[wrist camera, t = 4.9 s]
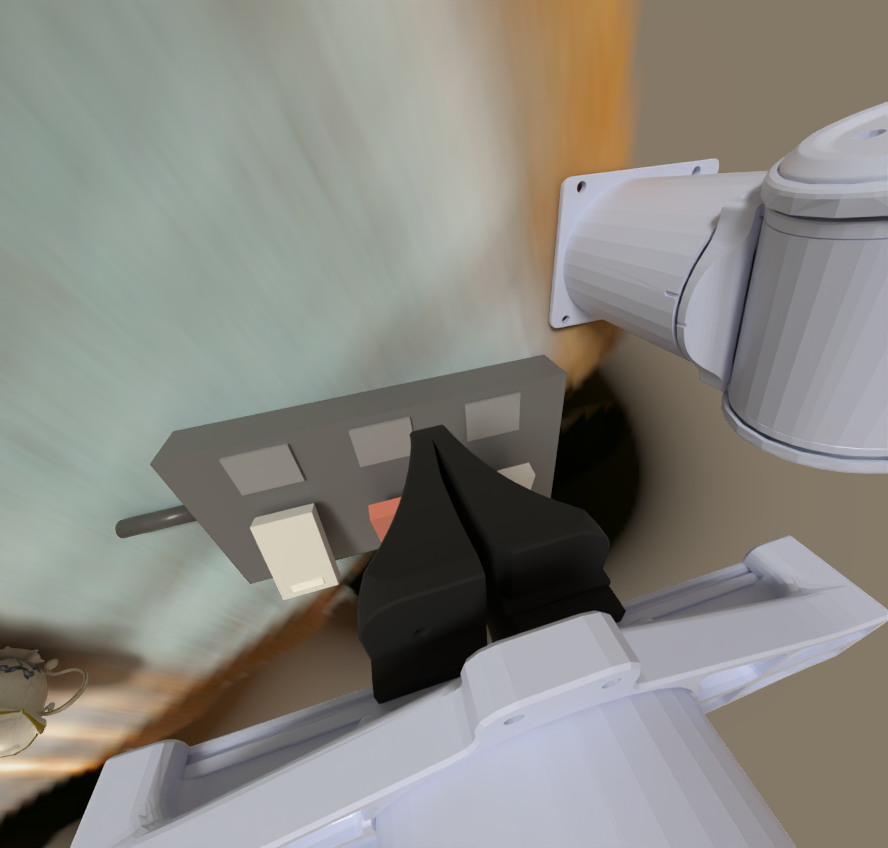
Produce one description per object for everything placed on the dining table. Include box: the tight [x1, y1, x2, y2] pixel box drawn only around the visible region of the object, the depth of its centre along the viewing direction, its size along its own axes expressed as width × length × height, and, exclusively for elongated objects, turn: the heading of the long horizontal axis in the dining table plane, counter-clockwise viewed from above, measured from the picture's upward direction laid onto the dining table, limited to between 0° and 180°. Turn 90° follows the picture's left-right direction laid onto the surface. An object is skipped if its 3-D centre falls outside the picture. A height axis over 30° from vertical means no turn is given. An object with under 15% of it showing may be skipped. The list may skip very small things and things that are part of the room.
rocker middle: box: [368, 497, 401, 543], centre depth 23 cm, size 4×6×2 cm, turn 6°
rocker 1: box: [250, 503, 340, 600], centre depth 22 cm, size 4×6×2 cm, turn 6°
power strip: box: [116, 355, 567, 584], centre depth 23 cm, size 30×12×3 cm, turn 96°
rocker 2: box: [497, 463, 535, 490], centre depth 24 cm, size 4×6×2 cm, turn 6°
